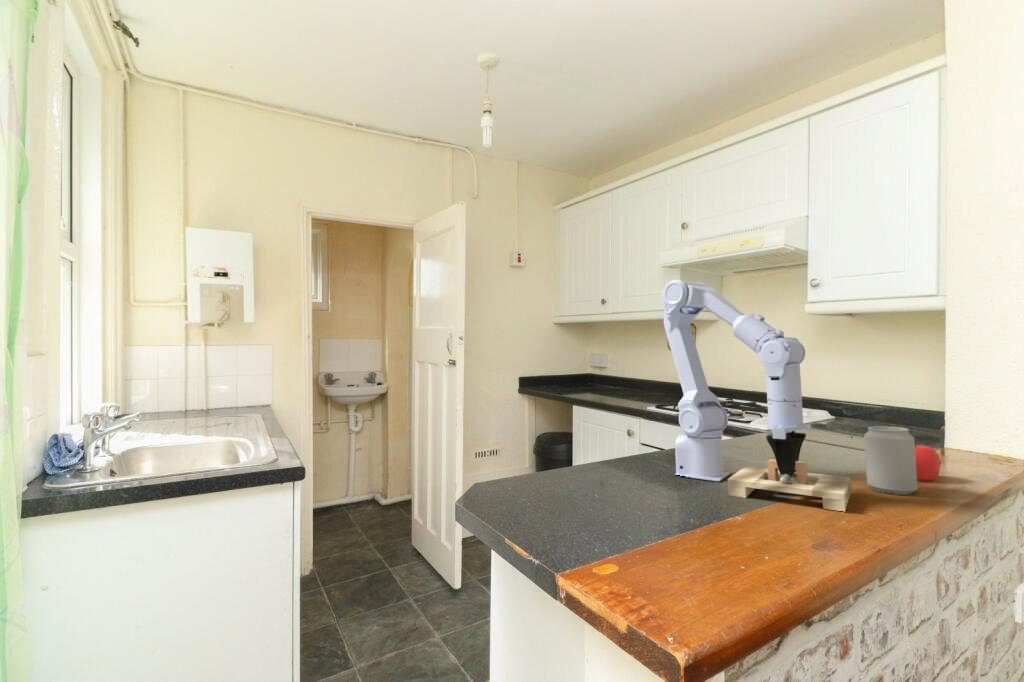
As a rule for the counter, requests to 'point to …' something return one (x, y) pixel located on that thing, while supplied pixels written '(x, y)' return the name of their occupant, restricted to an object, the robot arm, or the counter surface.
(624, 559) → the counter surface
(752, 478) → the wooden slotted stand
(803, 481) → the pink arch
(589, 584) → the counter surface
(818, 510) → the counter surface
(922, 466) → the apple
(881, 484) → the can
